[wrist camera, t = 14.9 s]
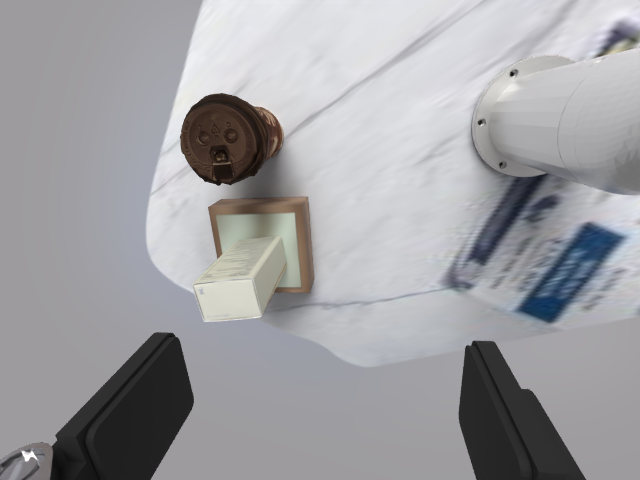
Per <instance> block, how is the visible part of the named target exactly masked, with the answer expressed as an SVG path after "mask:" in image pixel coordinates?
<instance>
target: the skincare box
mask: <svg viewBox="0 0 640 480" xmlns="http://www.w3.org/2000/svg"><path fill="white" fill-rule="evenodd" d="M286 267H287V262H286V257H285V251H284V246H283V242H282V237H281V236H274V237H264V238H255V239H246V240H239V241H236V242H235V243H234V244H232V245H231V246H230V247H229V248H228V249H227V250H226V251H225V252H224V253H223V254H222V255H221V256H220V257H219V258H218V259H217V260H216V261H215V262H214V263H213V264H212V265H211V266H210V267H209V268H208V269H207V270H206V271H205V272H204V273H203V274H202V275H201V276H200V277H199V278H198V279H197V280H196V281H195V282H194V283H193V284H192V287H193V290H194V293H195V297H196V300H197V303H198V306H199V309H200V312H201V315H202V318H203V321H204V322H215V321H229V320H240V319H249V318H250V319H251V318H260V317H262V315H263V313H264V311H265V309H266V307H267V305H268V303H269V301H270V299H271V297H272V295H273V293H274V291H275V289H276V287H277V285H278V283H279V281H280V279H281V277H282V275H283V273H284V271H285V269H286Z"/></svg>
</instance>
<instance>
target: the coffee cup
mask: <svg viewBox="0 0 640 480" xmlns="http://www.w3.org/2000/svg"><path fill="white" fill-rule="evenodd" d="M181 133H182V134H181V136H180V139H181V150H182V153H183V154H184V155H185V158H186V160H187V162H188V163H189V164H190V166H191V167H192V169H193V170H194V171H195V173H196V174H197V175H198V176H199V177H200V178H202V179H203V180H204V181H205V182H209V183H213V184H216V185H218V186H219V185H221V183H224V184H228V185H231V184H234V183H236V182H240V181H241V180H244V179H245V178H247V177H249V176H255V174H256V173H257V172H258V170H259V169H260V168H261V167H262V165H263V163H264V161H266V160H267V159H269V158H270V157H274V156H275V155H276V154H277V152H278V150H279V149H280V148H281V146H282V142H283V130H282V127H281V125H280V123H279V122H278V120H277V118H276V117H275V116H274V115H273V114H272V113H271V112H270V111H268V110H266V109H264V108H262V107H254V106H252V105H250V104H249V103H248V102H246V101H244V100H242V99H240V98H238V97H236V96H232V95H228V94H224V93H220V94H212V95H208V96H205V97H204V98H203V99H201V100H200V101H199V102H198V103H197V104H195V105H193V106H192V107H191V109H190V111H189V112H188V114H187V115H186V117H185V119H184V122H183V126H182V130H181Z"/></svg>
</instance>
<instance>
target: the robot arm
mask: <svg viewBox="0 0 640 480" xmlns="http://www.w3.org/2000/svg"><path fill="white" fill-rule="evenodd" d="M510 72H512V73H513V76H512V77H510ZM479 120H481V122H482V123H481V124H480V125H478V121H479ZM472 137H473V141H474V144H475V147H476V149H477V151H478V153H479V155H480V156H481V158H482V159H483V160H484V161H485V162H486V163H487V164H488V165H489V166H491V167H492V168H493V169H495V170H497V171H499V172H501V173H504V174H507V175H510V176H516V177H533V176H538V175H543V174H545V173H550V174H553V175H556V176H559V177H562V178H565V179H568V180H571V181H574V182H577V183H580V184H583V185H586V186H590V187H593V188H596V189H599V190H603V191H606V192H610V193H615V194H621V195H640V47H639V48H634V49H631V50H627V51H623V52H618V53H614V54H610V55H606V56H602V57H598V58H594V59H589V60H585V61H581V62H576V61H574V60H572V59H570V58H567V57H563V56H559V55H541V56H535V57H531V58H528V59H525V60H522V61H520V62H517V63H515V64H513V65H511V66H509V67H508V68H507V69H505V70H504V71H502V72H501V73H499V74H498V75H497V76H496V77H495V78H494V79H493V80H492V81H491V82H490V83H489V85H488V86H487V87H486V89H485V90H484V91H483V93H482V95H481V97H480V99H479V100H478V102H477V105H476V108H475V111H474V114H473V121H472ZM500 162H502V165H501V166H499V163H500ZM193 403H194V397H193V393H192V389H191V385H190V381H189V376H188V372H187V368H186V364H185V360H184V356H183V352H182V348H181V344H180V341H179V339H178V338H177V337H175V335H174V334H173V333H158V332H157V333H154V334H153V335H152V336H151V337H150V338H149V339H148V340H147V341H146V342H145V343H144V344H143V345H142V346H141V347H140V348H139V349H138V350H137V351H136V352H135V353H134V354H133V355H132V356H131V357H130V358H129V360H127V361H126V362H125V364H124V365H123V366H122V367H121V368H120V369H119V370H118V371H117V372H116V373H115V374H114V375H113V376H112V377H111V378H110V379H109V380H108V381H107V382H106V383H105V385H103V387H101V388H100V390H98V392H97V393H96V394H95V395H94V396H93V397H92V398H91V399H90V400H89V401H88V402H87V403H86V404H85V405H84V406H83V407H82V408H81V409H80V410H79V411H78V412H77V413H76V414H75V415H74V416H73V418H71V420H70V421H69V422H68V423H67V424H66V425H65V426H64V427H63V428H62V429H61V430H60V431H59V432H58V433H57V434H56V438H57V441H56V443H55V444H54V445H53V446H50V445H49V444H48V443H43V442H40V443H32V444H29V445H27V446H24V447H21V448H19V449H17V450H15V451H13V452H11V453H10V454H8V455H7V456H5V457H4V458H2V459H1V460H0V480H151V478H152V476H153V474H154V473H155V471H156V469H157V468H158V466H159V464H160V463H161V461H162V459H163V457H164V456H165V454H166V452H167V451H168V449H169V447H170V445H171V444H172V442H173V440H174V439H175V437H176V435H177V434H178V432H179V430H180V428H181V427H182V425H183V423H184V422H185V420H186V418H187V417H188V415H189V413H190V411H191V410H192V407H193ZM459 422H460V426H461V430H462V433H463V436H464V440H465V443H466V446H467V450H468V453H469V456H470V459H471V463H472V466H473V469H474V473H475V476H476V479H477V480H586V479H585V477H584V476H583V474H582V472H581V471H580V469H579V467H578V466H577V464H576V462H575V461H574V459H573V457H572V456H571V454H570V452H569V451H568V449H567V447H566V446H565V444H564V442H563V441H562V439H561V437H560V436H559V434H558V432H557V431H556V429H555V427H554V426H553V424H552V422H551V421H550V419H549V417H548V416H547V414H546V412H545V411H544V409H543V408H542V406H541V404H540V402H539V401H538V399H537V397H536V396H535V395H534V393H533V392H532V391H530V390H529V389H521V388H520V386H519V384H518V382H517V380H516V379H515V377H514V375H513V374H512V372H511V370H510V368H509V366H508V365H507V363H506V361H505V359H504V358H503V356H502V354H501V352H500V350H499V349H498V347H497V345H496V344H495V342H493V341H473V342H472V346H469V345H467V346H466V348H465V357H464V367H463V376H462V386H461V396H460V405H459Z"/></svg>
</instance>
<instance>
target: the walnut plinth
mask: <svg viewBox="0 0 640 480" xmlns="http://www.w3.org/2000/svg"><path fill="white" fill-rule="evenodd" d="M208 209H209V214H210V220H211V225H212V231H213V236H214V242H215V247H216V253H217V258H219V257H220V256H221V255H222V254H223V253H224V252H225V251H226V250H227V249H228V248H229V247H230V246H231V245H232V244H234V243H235V242H236V241H239V240H246V239H255V238H264V237H274V236H281V237H282V242H283V246H284V251H285V257H286V262H287V267H286V269H285V271H284V273H283V275H282V277H281V279H280V281H279V283H278V285H277V287H276V289H275V291H274V292H289V293H310V290H311V287H312V284H313V280H314V271H313V258H312V245H311V231H310V218H309V205H308V197H282V198H251V199H221V200H220V201H218V202H216V203H215V204H213V205H211V206H209V207H208Z"/></svg>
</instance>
